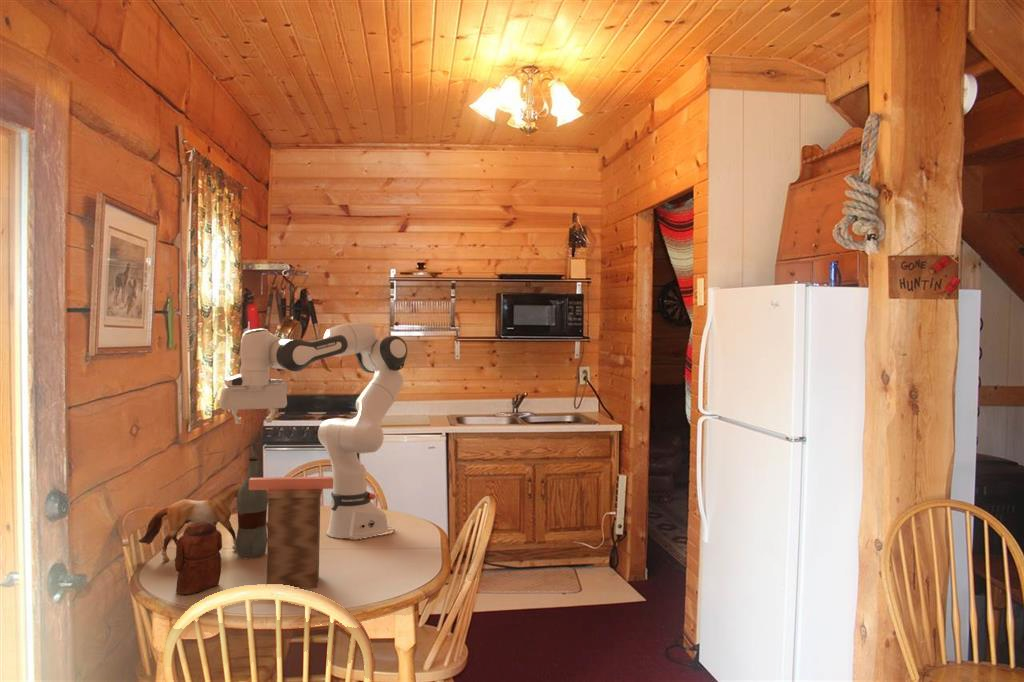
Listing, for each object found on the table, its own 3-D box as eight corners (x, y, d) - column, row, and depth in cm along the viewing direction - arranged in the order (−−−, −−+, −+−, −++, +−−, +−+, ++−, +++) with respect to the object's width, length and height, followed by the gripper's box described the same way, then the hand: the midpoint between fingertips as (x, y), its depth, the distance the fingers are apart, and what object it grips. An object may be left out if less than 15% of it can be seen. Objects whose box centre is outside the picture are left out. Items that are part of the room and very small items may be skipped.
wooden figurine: (207, 580, 205) (208, 515, 205) (223, 584, 202) (224, 518, 202) (169, 593, 194) (171, 524, 194) (186, 598, 191) (187, 528, 191)
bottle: (240, 550, 233) (241, 454, 232) (270, 550, 234) (272, 454, 233) (231, 559, 223) (233, 459, 223) (263, 559, 224) (265, 459, 224)
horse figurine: (245, 544, 239) (246, 480, 239) (251, 551, 232) (253, 485, 232) (137, 559, 222) (139, 490, 222) (141, 566, 215) (142, 495, 215)
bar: (333, 486, 207) (333, 476, 207) (332, 488, 205) (332, 478, 205) (250, 488, 203) (250, 477, 203) (248, 490, 201) (248, 479, 200)
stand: (320, 575, 211) (322, 484, 210) (318, 588, 201) (320, 491, 201) (268, 578, 208) (270, 484, 208) (264, 590, 198) (266, 492, 198)
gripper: (285, 378, 245) (284, 420, 246) (219, 379, 235) (218, 423, 235) (290, 379, 240) (289, 422, 240) (222, 380, 229) (222, 425, 230)
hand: (253, 423), depth 238 cm, fingers open, 8 cm apart
